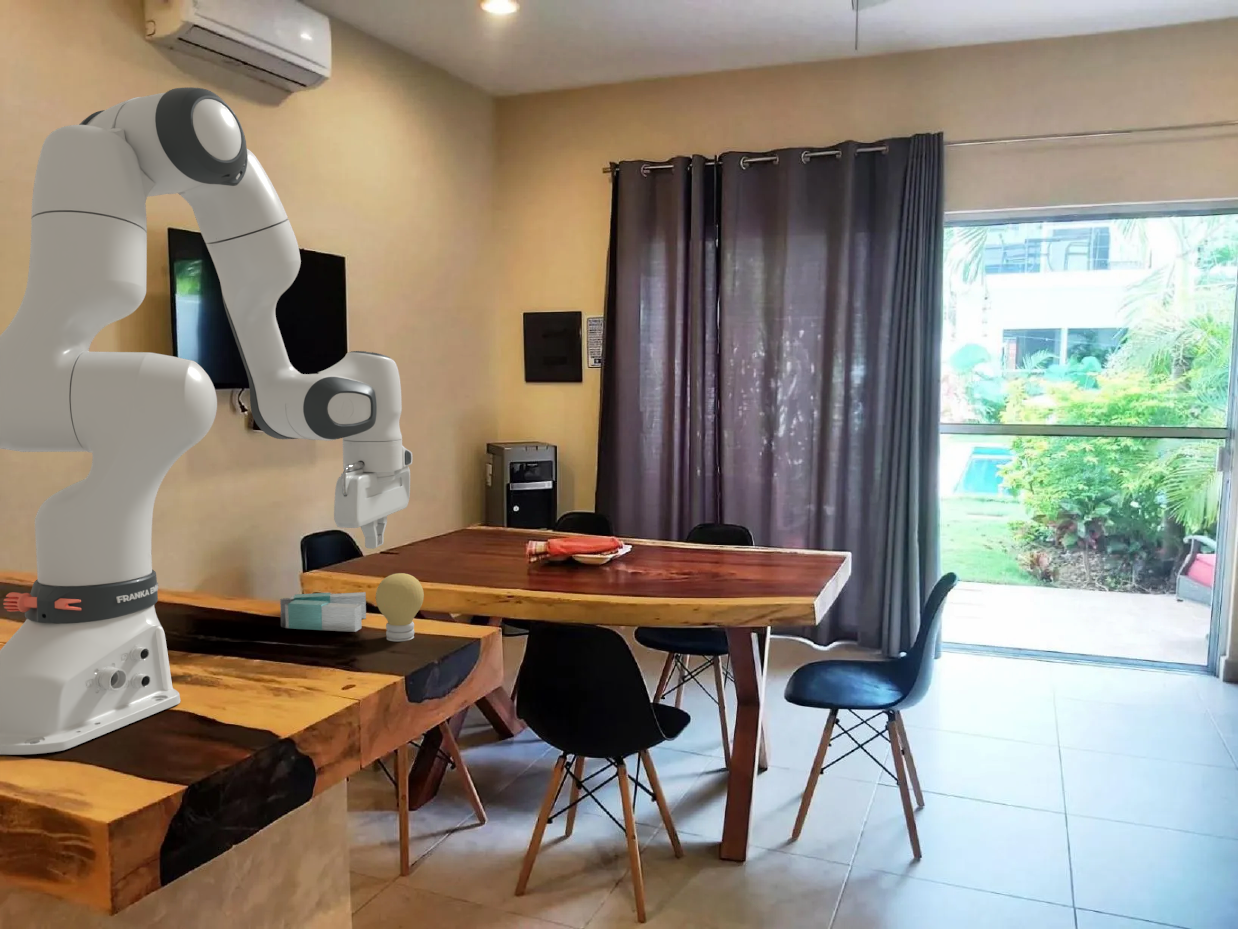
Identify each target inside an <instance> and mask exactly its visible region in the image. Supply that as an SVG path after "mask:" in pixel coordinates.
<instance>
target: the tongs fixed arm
mask: <svg viewBox="0 0 1238 929" xmlns="http://www.w3.org/2000/svg"><path fill="white" fill-rule="evenodd" d="M290 598H291V597H284V598H280V600H279V603H280V604H279V605H280V627H281V628H285V629H290V630H291V629H294V630H295V629H296V630H313V631H333V632H334V631H335V632H350V633H351V632H353V633H354V632H355V633H357V632H358V631H359V630H361V629H363V628H362V627H363V626H362V624H363V623H362V619H361V605H358V604H338V603H329V601H309V600H295V601H292V602H291V599H290Z"/></svg>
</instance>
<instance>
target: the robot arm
mask: <svg viewBox="0 0 1238 929" xmlns="http://www.w3.org/2000/svg"><path fill="white" fill-rule="evenodd" d="M32 188H33V189H32V199H31V218H30V220H31V221H30V222H31V223H30V224H31V228H30V229H31V230H30V232H31V233H30V249H29V250H30V251H29V262H28V263H29V264H28V274H27V281H26V282H27V283H26V288H25V290H24V295H23V298H22V299H21V304H20V305H19V307H18V309H17V311H16V313H15V315H14V317H13V318H12V319H11V321H10V323H9V324H8V326H7V327H6V328H5V330H3V332H2V333H0V450H8V451H13V452H21V453H36V452H37V453H44V452H45V453H47V452H49V453H57V452H58V453H59V452H60V453H63V452H65V453H66V452H67V453H68V452H69V453H70V452H72V453H73V452H75V453H77V452H78V453H79V452H85V453H86V452H87V453H92V454H91V455H92V461H91V467H90V470H89V472H88V474H87V476H86V477H85V478H84V479H82V480H79V481H78V482H75V483H72V484H71V485H68V486H66V487H64V488H63V489H61V490H59V491H57V492H55V493H53V494H51V495H50V496H48V498H47V499H46V500H44V502H42V503H41V505H40V506H39V508H38V510H37V512H36V516H35V517H34V536H35V553H36V554H35V555H36V571H37V573H36V574H37V579H36V580H35V581H34V582H33V584H32V587H31V591H30V593H29V592H24V593H21V592H14V591H12V592H9V593H7V594H6V595H5V597H6V598H4V599H3V603H2V604H3V609H6V611H7V612H9V613H10V612H11V613H12V612H13V613H14V612H20V613H24V618H25V621H24V622H23V623H22V625H21V626H20V627H19V628H18V629H17V630H16V632H14V634H12V636H11V637H10V638H9V639H8V641H7V642H6V643H5V644H4V645H3V647H2V648H1V649H0V755H10V756H11V755H37V754H38V755H39V754H47V753H49V754H50V753H55V752H61V751H65V750H68V749H71V748H74V747H77V746H78V745H81V744H83V743H86V742H88V741H91V740H92V739H95V738H98V737H101V736H103V735H106V734H107V733H110V732H112V731H115V730H118V729H120V728H123V727H125V726H128V725H129V724H132V723H135V722H137V721H140V720H142V719H145V718H147V717H150V716H152V715H154V714H157V713H159V712H162V711H164V710H168V709H170V708H172V707H174V706H177V705H179V704H180V703H181V697H180V696H181V695H180V692H179V691H178V690H177V689H175V688H174V687H173V683H172V675H171V674H172V673H171V667H170V661H169V660H170V659H169V655H168V648H167V646H168V645H167V641H166V640H167V639H166V634H165V631H164V628H163V626H162V624H161V622H160V620H159V618H158V615H157V613H156V608H155V605H156V603H157V602H158V600H159V598H158V596H159V595H158V590H159V582H158V580H157V579H158V578H157V577H158V576H157V572H156V571H155V570H154V569H153V561H152V560H153V557H152V549H153V548H152V547H153V546H152V539H153V538H152V536H153V519H154V518H153V515H154V506H155V502H156V498H157V495H158V491H159V489H160V487H161V485H162V483H163V480H164V479H165V477H166V475H167V474H168V472H169V471H170V469H171V468H172V467H173V465H174V464H175V463H176V462H177V461H178V460H179V458H181V457H182V456H183V455H184V454H185V453H186V452H188V451H189V450H190V449H191V448H193V447H194V446H195V445H197V444H198V443H200V442H201V440H203V439H204V437H205V436H207V434H208V433H209V431H210V430H211V428H212V426H213V425H214V422H215V419H216V415H217V411H218V397H217V396H218V395H217V393H216V388H215V386H214V383H213V381H212V379H211V377H210V376H209V374H208V373H207V372H206V370H204V368H203V367H202V366H201V365H200V364H198V362H196V361H194V360H192V359H186V358H182V357H177V356H173V355H167V354H161V353H158V352H157V353H156V352H150V351H149V352H143V351H140V352H139V351H138V352H137V351H132V352H131V351H90V347H91V344H92V342H93V341H94V339H95V337H96V336H97V335H98V334H99V333H100V332H101V331H102V330H103V329H104V328H105V327H107V326H109V325H110V324H112V323H115V322H118V321H120V320H122V319H125V318H126V317H128V316H130V315H132V314H133V313H134V312H135V311H136V310H137V309H138V308H139V307H140V306H141V304H142V303H143V301H144V299H145V297H146V294H147V280H148V279H147V277H148V276H147V272H148V271H147V269H148V268H147V267H148V263H147V261H148V259H147V257H148V256H147V255H148V253H147V252H148V251H147V250H148V241H147V240H148V233H147V232H148V228H147V227H148V226H147V223H148V222H147V221H148V220H147V218H148V217H147V208H146V207H147V205H146V201H147V199H148V197H155V196H161V195H162V196H163V195H176V194H179V196H180V197H181V198H183V200H185V201H186V202H187V204H189V206H190V207H191V209H192V211H193V215H194V217H195V220H196V223H197V226H198V229H199V231H200V234H201V236H202V238H203V240H204V243H205V246H206V248H207V250H208V252H209V255H210V257H211V260H212V262H213V265H214V268H215V271H216V273H217V276H218V279H219V282H220V289H221V290H220V291H221V295H222V297H221V298H222V303H223V306H224V310H225V313H226V317H227V319H228V323H229V326H230V328H231V331H232V334H233V337H234V340H235V343H236V346H237V348H238V352H239V354H240V357H241V361H242V363H243V366H244V369H245V372H246V376H247V379H248V386H249V402H250V404H249V405H250V406H249V407H250V411H251V414H252V418H253V420H254V422H255V424H256V425H257V427H259V429H260V430H261V431H262V432H263V433H265V434H266V435H267V436H269V437H272V438H274V439H277V440H297V439H298V440H299V439H300V440H311V441H325V442H327V441H328V442H329V441H331V442H332V441H336V440H339V439H342V470H343V472H342V473H341V474H340V476H339V477H338V478H337V480H336V482H335V483H336V484H335V488H334V489H335V491H334V505H333V506H334V507H333V508H334V509H333V510H334V511H333V518H334V519H333V520H334V523H335V525H336V527H337V528H345V529H358V528H360V529H361V531H362V532H361V533H362V534H363V537H364V546H365V548H366V549H373V550H374V549H376V548H378V547H380V546H382V545H384V540H385V539H384V537H385V536H384V534H385V531H386V527H387V523H388V516H390V515H393V514H395V513H397V512H400V511H403V510H404V509H407V507H408V505H409V501H410V495H411V470H410V467H409V466H411V465H412V464H413V462H414V461H413V460H414V459H413V457H414V456H413V452H412V451H411V450H409V449H407V448H406V447H405V446H404V445H403V435H402V432H401V428H400V427H401V426H400V418H401V415H402V410H403V407H402V401H403V400H402V399H403V398H402V386H401V377H400V371H399V369H398V368H399V367H398V365H397V362H395V360H394V359H393V358H391V357H390V356H388V355H386V354H382V353H378V352H373V351H364V350H352V351H349V352H347V353H346V354H345V356H344V357H343V358H342V359H341V360H339V361H338V362H336V363H335V364H333V365H331V366H330V367H328V368H326V369H324V370H321V371H317V373H309V374H308V373H307V374H306V373H304V374H303V373H301V372H300V371H298V369H296V368H295V367H294V366H293V364H292V362H290V359H289V356H288V352H287V349H286V347H285V343H284V339H283V337H282V334H281V330H280V328H279V324H278V320H277V317H276V316H277V315H276V308H277V303H278V301H279V299H280V298H281V296H282V295H283V294H284V293H285V292H286V291H287V290H288V289H290V287H291V286H292V285H293V283H294V281H295V280H296V278H297V277H298V274H299V271H300V268H301V264H302V263H301V262H302V260H301V254H300V247H299V243H298V240H297V237H296V234H295V232H294V229H293V227H292V224H291V221H290V219H289V217H288V214H287V212H286V210H285V207H284V205H283V203H282V201H281V198H280V196H279V194H278V192H277V190H276V188H275V187H274V185H273V183H272V180H271V179H270V177H269V176H268V174H267V172H266V170H265V169H264V167H263V164H261V162H260V161H259V159H258V158H257V156H256V155H255V154H254V153H253V151H251V150H250V149H248V148H247V140H246V137H245V133H244V129H243V126H242V125H241V122H240V120H239V118H238V117H237V114H236V113H235V112H234V110H233V109H232V108H231V107H230V106H229V104H227V103H226V102H225V100H223V98H221V96H219V95H218V94H217V93H215V92H213V91H212V90H210V89H205V88H201V87H194V86H193V87H191V86H190V87H176V88H172V89H169V90H167V91H166V92H162V93H161V92H160V93H156V94H151V95H145V96H137V97H133V98H130V99H127V100H124V101H122V102H118V103H117V104H114V105H113V106H110V107H109V108H107V109H104V110H103V109H102V110H99V111H95V112H93V113H91V114H90V115H88V116H87V117H85V118H84V119H83V120H82V121H81V122H80V123H79V124H71V125H65V126H61V127H59V128H57V129H55V130H53V131H52V132H51V133H49V134H48V135H47V136H46V138H44V141H43V144H42V146H41V150H40V154H39V157H38V161H37V166H36V169H35V177H34V182H33V187H32Z"/></svg>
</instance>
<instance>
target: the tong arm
mask: <svg viewBox="0 0 1238 929" xmlns="http://www.w3.org/2000/svg"><path fill="white" fill-rule="evenodd" d="M366 596H367V595H366V591H363V592H362V591H361V592H344V593H331V592H319V593H318V592H317V593H316V592H314V593H300V594H299V593H298V594H297V593H295V594H294V595H291V596H290V597H289V598H290V599H291V602H292V601H295V600H309V601H329V603H338V604H358V605H361V620H364V619H367V605H366V604H367V600H366V599H367V598H366Z"/></svg>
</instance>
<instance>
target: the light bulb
mask: <svg viewBox="0 0 1238 929" xmlns="http://www.w3.org/2000/svg"><path fill="white" fill-rule="evenodd" d="M424 593H425V592H424V589H423V586H422V584H421V582H420V581H419V579H418V578H416V577H415V576H413V575H411V574H408V573H404V572H403V573H402V572H399V573H392V574H389V575H388V576H386V577H384V579H382V580H381V582H379V584H378V586H377V589H376V592H375V603H376V606H377V608H378V610H379V612H380V613H381V614H382V615H383V617H384V618H385V619H386V621H387V622H386V625H385V627H386V628H385V629H386V632H385V634H386V640H387V641H390V642H407V641H410V640H412V639H414V638H415V636H414V635H415V623H414V621H413V620H414V618H415V617H416V616H417V613H418V612H419V611H420V609H421V608H422V605H423V603H424V597H425V594H424Z"/></svg>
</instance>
